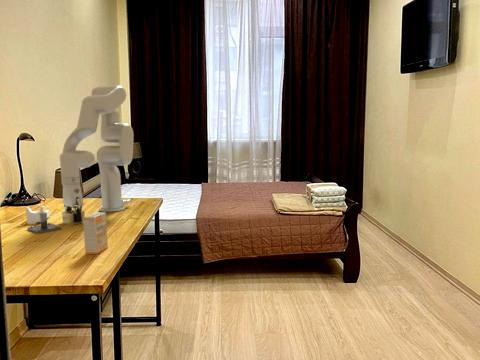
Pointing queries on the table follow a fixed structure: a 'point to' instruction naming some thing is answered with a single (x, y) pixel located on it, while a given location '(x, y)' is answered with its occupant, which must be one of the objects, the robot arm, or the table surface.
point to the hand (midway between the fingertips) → (73, 220)
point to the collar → (71, 217)
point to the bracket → (35, 215)
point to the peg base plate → (44, 225)
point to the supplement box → (95, 232)
